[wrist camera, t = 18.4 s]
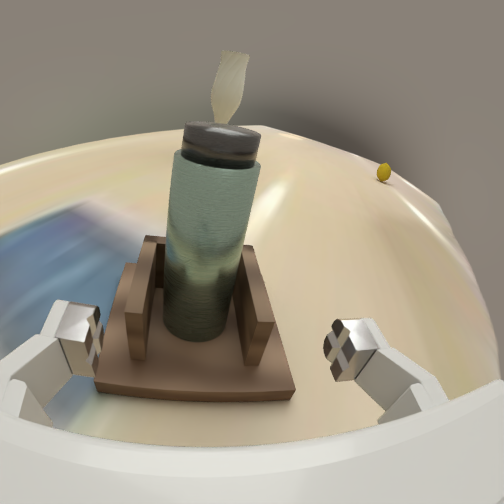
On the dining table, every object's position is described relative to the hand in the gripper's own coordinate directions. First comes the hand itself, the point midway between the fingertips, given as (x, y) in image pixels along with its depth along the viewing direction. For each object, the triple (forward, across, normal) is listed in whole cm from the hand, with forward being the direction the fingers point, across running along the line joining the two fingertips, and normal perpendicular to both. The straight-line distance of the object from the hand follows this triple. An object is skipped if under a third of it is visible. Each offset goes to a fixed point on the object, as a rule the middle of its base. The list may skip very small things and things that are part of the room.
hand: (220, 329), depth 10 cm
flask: (+12, 0, -12) cm, 17 cm away
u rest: (+12, 0, -13) cm, 18 cm away
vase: (+72, +5, -14) cm, 74 cm away
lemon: (+89, +70, -14) cm, 114 cm away
